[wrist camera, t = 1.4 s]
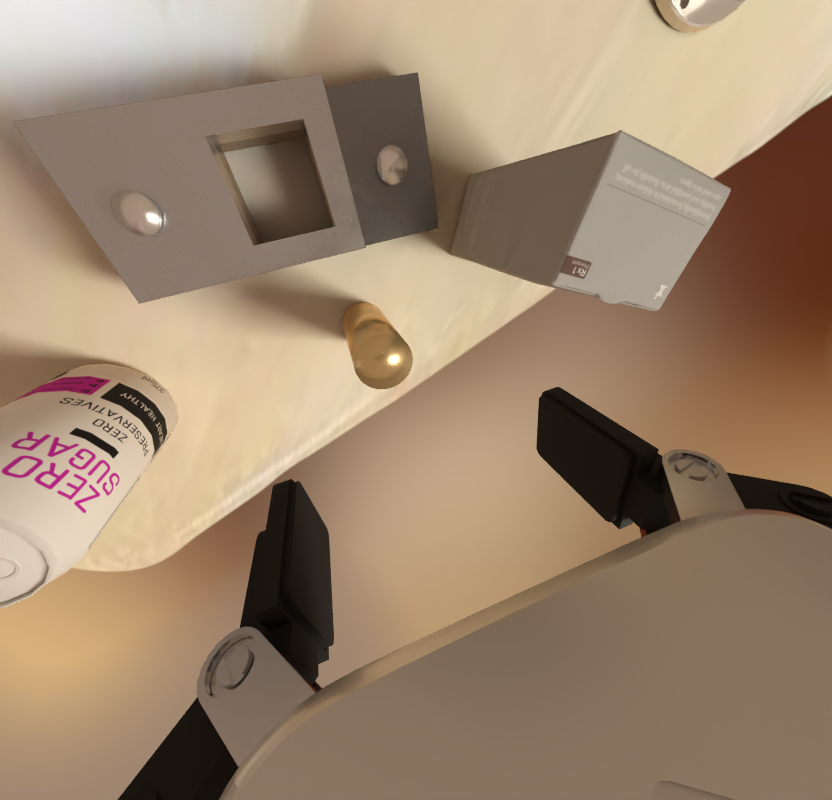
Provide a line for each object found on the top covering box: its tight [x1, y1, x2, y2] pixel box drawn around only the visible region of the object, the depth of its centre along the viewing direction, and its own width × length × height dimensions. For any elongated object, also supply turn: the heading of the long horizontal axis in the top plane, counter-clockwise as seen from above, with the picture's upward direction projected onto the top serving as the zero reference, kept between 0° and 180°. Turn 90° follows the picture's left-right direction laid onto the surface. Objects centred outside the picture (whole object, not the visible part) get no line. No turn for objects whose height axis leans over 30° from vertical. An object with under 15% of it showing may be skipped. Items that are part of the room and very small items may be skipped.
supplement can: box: [0, 364, 178, 608], centre depth 19 cm, size 8×8×15 cm
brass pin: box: [343, 302, 413, 389], centre depth 24 cm, size 4×4×10 cm
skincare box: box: [450, 130, 731, 311], centre depth 21 cm, size 8×7×16 cm
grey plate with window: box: [13, 73, 438, 304], centre depth 20 cm, size 22×9×5 cm, turn 102°
